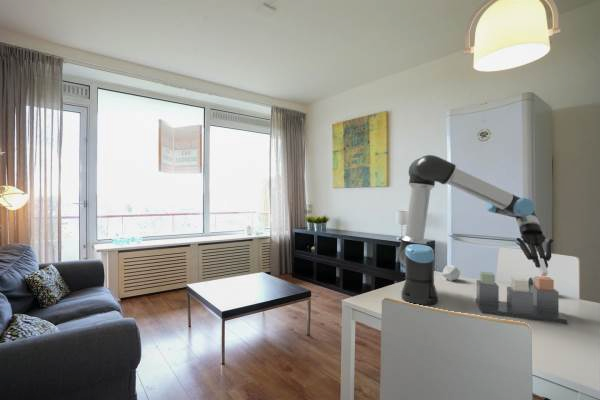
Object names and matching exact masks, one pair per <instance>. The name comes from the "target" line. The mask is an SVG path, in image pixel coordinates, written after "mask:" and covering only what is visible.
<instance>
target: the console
mask: <svg viewBox="0 0 600 400" xmlns="http://www.w3.org/2000/svg"><path fill="white" fill-rule="evenodd" d="M499 287H500V286H499V285H498V284H497V283H496V282H495V285H487V284H481V283H480V279H479V280H476V298H475V304H476V305H477V307H478V309H479V311H480V312H481V314H487V315H493V316H494V315H495V316H496V315H497V316H503V317H511V318H519V319H527V320H534V321H540V322H541V321H542V322H551V323H557V324H565V325H568V319H567V318H566V317H564V316H563V315H562V314H561V313H560V311H559V308H560V307H559V299H560V298H559V291H558V290H556V289H555V288H554V291H550V290H540V289H537V288H536V287H535V285H531V291H530V290H529V292H519V291H513V290H512V289H511V286H506V301H502V300H499V297H500V295H499Z"/></svg>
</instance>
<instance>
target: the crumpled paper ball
mask: <svg viewBox="0 0 600 400" xmlns="http://www.w3.org/2000/svg"><path fill="white" fill-rule="evenodd" d="M460 273H461V271H460V269H458V267H456V266H454V265H453V264H450V265H445V267H444V268H443V271H442V276H443V277H444V278H445V279H446V280H448V281H449V282H453V281H454V280H455V281H457V280H458V279H459V278H460Z"/></svg>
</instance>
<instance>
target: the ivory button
mask: <svg viewBox="0 0 600 400" xmlns="http://www.w3.org/2000/svg"><path fill="white" fill-rule="evenodd" d="M510 287H511V289H512V290H513V291H519V292H529V282H528V280H527V279H526V278H521V277H513V276H512V277H510Z"/></svg>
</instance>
